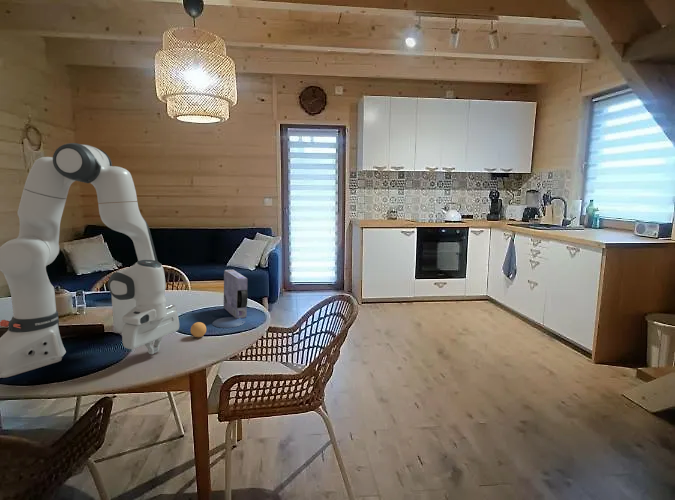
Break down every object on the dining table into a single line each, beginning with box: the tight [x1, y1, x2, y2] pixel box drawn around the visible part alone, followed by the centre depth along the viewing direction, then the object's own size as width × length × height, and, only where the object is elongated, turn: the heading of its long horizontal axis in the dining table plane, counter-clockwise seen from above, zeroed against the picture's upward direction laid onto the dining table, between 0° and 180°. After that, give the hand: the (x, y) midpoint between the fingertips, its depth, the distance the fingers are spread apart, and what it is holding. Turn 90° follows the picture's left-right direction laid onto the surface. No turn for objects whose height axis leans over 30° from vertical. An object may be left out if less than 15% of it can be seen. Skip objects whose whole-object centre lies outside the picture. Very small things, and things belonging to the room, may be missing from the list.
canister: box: [111, 295, 136, 334], centre depth 163 cm, size 14×14×20 cm
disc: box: [212, 316, 246, 329], centre depth 172 cm, size 13×13×1 cm
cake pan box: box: [223, 269, 249, 319], centre depth 184 cm, size 19×5×18 cm, turn 32°
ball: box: [190, 321, 207, 338], centre depth 156 cm, size 6×6×6 cm
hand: (153, 352), depth 137 cm, fingers closed
